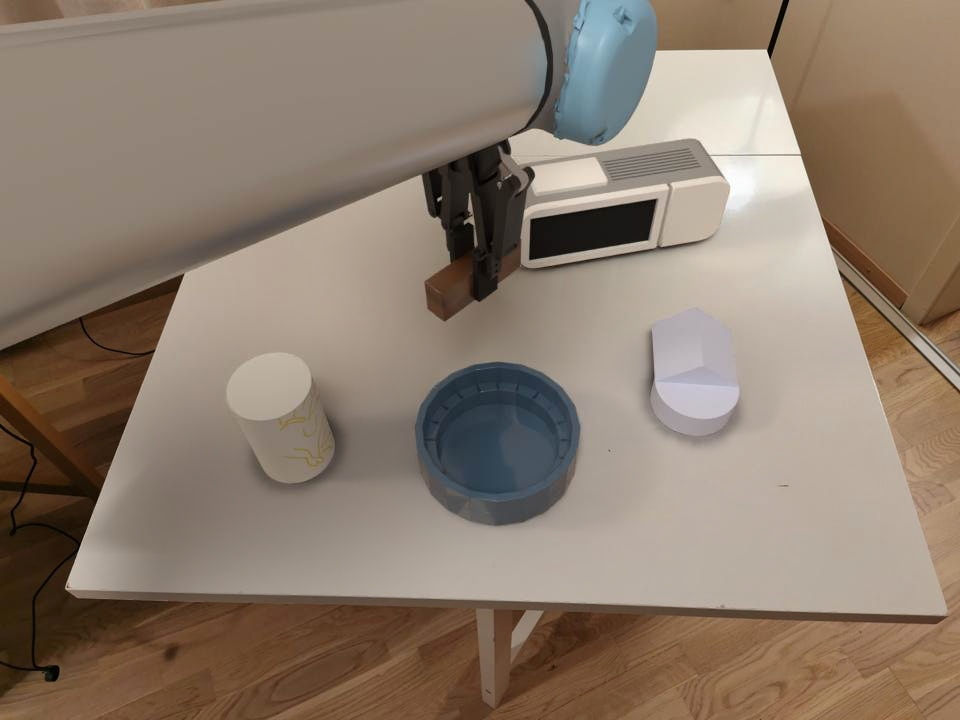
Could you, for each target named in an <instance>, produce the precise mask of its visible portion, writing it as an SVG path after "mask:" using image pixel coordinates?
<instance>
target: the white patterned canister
mask: <svg viewBox="0 0 960 720" xmlns="http://www.w3.org/2000/svg"><path fill="white" fill-rule="evenodd" d="M225 389H226V390H225V399H226V401H227V404H228V407H229V408H230V410H231V412H232V414H233V415H234V417H235V419H236V421H237V423H238V425H239V427H240V428H241V430H242V432H243V435H244V436H245V438H246V439H247V441H248V443H249V445H250V447H251V449H252V452H253V453H254V455H255V457H256V458H257V461H258V462H259V464H260V466H261V468H262V470H263V471H264V473H265V474H266V475H267V476H268V477H269V478H271V479H272V480H274V481H276V482H279V483H284V484H299V483H303V482H306V481H310V480H311V479H313V478H315V477H317V476H319V475H320V474H321V473H322V472H323V471H325V469H326V468H327V467H329V464H330V463H331V462H332V459H333V457H334V454H335V449H336V442H335V441H336V440H335V437H334V435H333V432H332V429H331V426H330V423H329V420H328V418H327V415H326V412H325V410H324V407H323V404H322V401H321V398H320V395H319V393H318V390H317V387H316V383H315V382H314V379H313V375H312V373H311V369H310V368H309V366H308V364H306V362H305V361H304V360H303V359H301V358H300V357H298V356H297V355H294V354H292V353H287V352H267V353H263V354H260V355H257V356H255V357H253V358H252V357H251V358H250V359H248V360H247V361H246V362H244V363H242V364H241V365H240V366H239V367H238V368H237V369H236V370H235V371H234V372H233V373H232V375H231V376H230V378H229V380H228V382H227V385H226V388H225Z"/></svg>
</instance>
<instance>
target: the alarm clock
mask: <svg viewBox="0 0 960 720" xmlns="http://www.w3.org/2000/svg"><path fill="white" fill-rule="evenodd" d="M517 165H518V166H519V167H520V168H521V169H523V168H524V167H526V166H529V167H531V168H532V169H533V170H534V172H535V178H534V180H533V181H532V183H531V185H530V186H529V188H528V189H527V196H526V203H525V210H524V217H523V224H522V231H521V265H522V266H523V267H524V268H527V269H539V268H545V267H551V266H556V265H562V264H569V263H573V262H574V263H576V262H581V261H586V260H593V259H598V258H604V257H610V256H611V257H612V256H617V255H621V254H628V253H634V252H639V251H645V250H646V251H647V250H650V249H651V250H652V249H656V248H657V247H660V248H663V247H669V246H675V245H682V244H687V243H692V242H693V243H694V242H699V241H702V240H706V239H708V238H710V237H711V236H712V235H714V233H716V231H718V230H719V227H720V225H721V223H722V219H723V216H724V212H725V210H726V207H727V203H728V199H729V197H730V193H731V185H730V183H729V181H728V180H727V178H726V177H725V175H724V174H723V172H722V171H721V170H720V168H719V166H718V165H717V164H716V162H715V161H714V160H713V158H712V157H711V156H710V154H709V152H708V151H707V150H706V148H705V147H704V146H703V144H702V142H701V141H700V140H699V139H696V138H690V137H689V138H682V139H676V140H669V141H662V142H656V143H655V142H654V143H649V144H648V143H647V144H643V145H636V146H628V147H622V148H616V149H609V150H604V151H597V152H590V153H585V154H584V153H583V154H577V155H571V156H570V155H569V156H565V157H557V158H551V159H545V160H538V161H531V162H525V163H519V164H517Z"/></svg>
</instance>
